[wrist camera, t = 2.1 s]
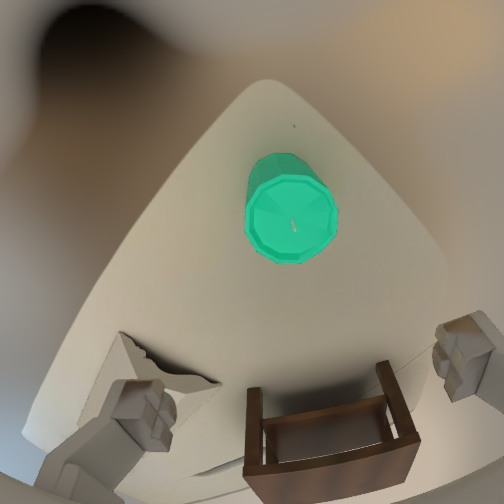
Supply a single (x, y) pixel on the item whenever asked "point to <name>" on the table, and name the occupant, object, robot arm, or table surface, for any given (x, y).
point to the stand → (330, 448)
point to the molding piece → (138, 367)
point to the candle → (288, 210)
